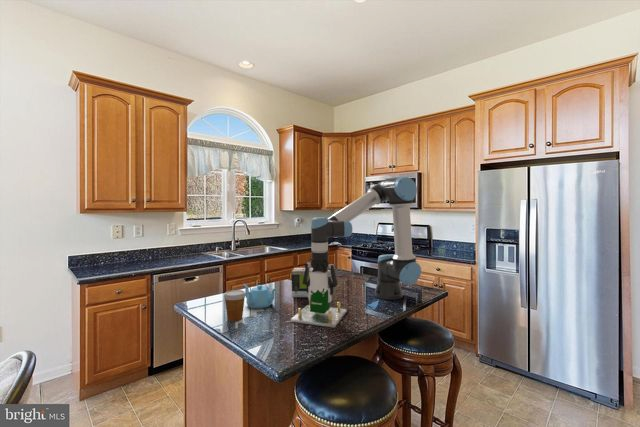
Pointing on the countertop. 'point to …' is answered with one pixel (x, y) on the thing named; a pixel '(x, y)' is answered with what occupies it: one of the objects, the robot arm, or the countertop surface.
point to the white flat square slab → (319, 316)
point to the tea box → (299, 282)
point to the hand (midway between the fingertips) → (319, 300)
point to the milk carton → (319, 291)
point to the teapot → (259, 297)
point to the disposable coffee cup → (234, 304)
